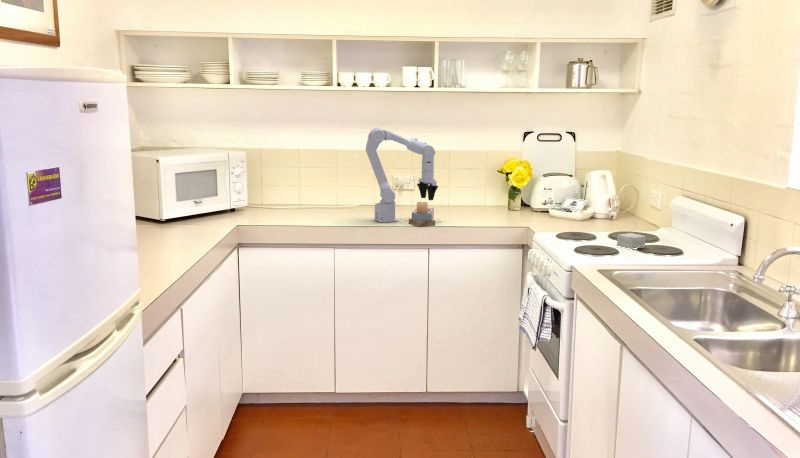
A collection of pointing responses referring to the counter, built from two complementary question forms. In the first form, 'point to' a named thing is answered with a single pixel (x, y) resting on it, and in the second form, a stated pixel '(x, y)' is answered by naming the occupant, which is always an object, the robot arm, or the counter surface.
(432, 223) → the walnut slab
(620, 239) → the small box
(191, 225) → the counter surface
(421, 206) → the terracotta cylinder
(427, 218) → the slate block
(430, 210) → the ink box
